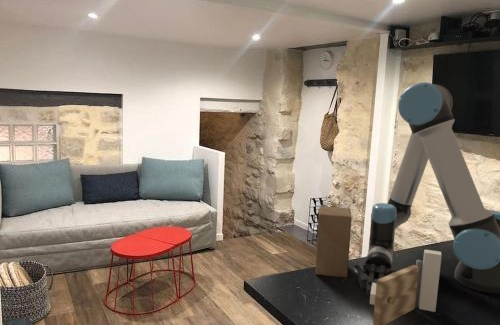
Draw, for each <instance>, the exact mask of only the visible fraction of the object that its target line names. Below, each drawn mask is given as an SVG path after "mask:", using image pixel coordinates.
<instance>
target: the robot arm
mask: <svg viewBox="0 0 500 325" xmlns="http://www.w3.org/2000/svg"><path fill="white" fill-rule="evenodd" d="M397 107H398V113H399V115H400V117H401V118H402V119H403V120H404V121H405V122H406V123H407V124H408V125H409V128H410V131H411V133H410V137H409V139H408V142H407V145H406V148H405V151H404V155H403V157H402V160H401V162H400V163H401V164H400V166H399V168H398V172H397V175H396V178H395V179H394V184H393V187H392V189H391V192H390V195H389V199H388V201H387V202H386V203H385V202H379V203H375V204H373V205H372V208H371V213H370V229H369V241H368V242H369V243H368V251H367V255H366V259H365V262H364V263H365V264H363V265H362V266H360V265H358V264H355V265H354V269H353V270H354V271H353V274H354V275H355V276H356V277H357V280H358V283H359V288H360V289H363V290H364V289H366V292H365V293H366V295H369V304H370V305H373V306H375V295H376V283H377V282H375V280H376V281H377V280H378V279H380V278H383V277H385V276H387V275H390V274H392V273H394V270H393V265H392V264H393V254H394V244H395V232H396V229H397V228H399V227H400V226H401V225H403V224H404V223H406V222H407V221H408V220H409V219H410V217H411V215H412V205H413V202H414V199H415V197H416V195H417V192H418V189H419V186H420V183H421V180H422V178H423V175H424V173H425V169H426V167H427V164H428V161H429V163H430V165H431V168H432V171H433V174H434V176H435V178H436V181H437V184H438V187H439V188H440V191H441V193H442V196H443V198H444V201H445V204H446V206H447V208H448V211H449V213H450V216H451V217H450V220H449V222H448V227H449V228H450V231H451V234H452V237H453V242H452V243H453V244H452V245H453V246H452V247H453V252H454V255H455V256H456V258H457V259H458V260H459V262H458V264H456V267H455V269H454V279H455V280H456V281H457V282H458V283H459V284H461V285H463V286H464V287H466V288H469V289H471V290H475V291H478V292H482V293H486V294H499V295H500V211H498V210H492V209H488V208H485V207H484V204H483V202H482V199H481V196H480V194H479V192H478V189H477V187H476V184H475V182H474V180H473V177H472V174H471V172H470V170H469V168H468V165H467V163H466V160H465V157H464V155H463V153H462V150H461V148H460V145H459V143H458V140H457V138H456V135H455V133H454V130H453V125H454V123H455V118H454V115H453V113H452V108H453V97H452V95H451V93H450V91H449V90H448V89H447V88H446V87H445V86H443V85H440V84H436V83H431V82H425V81H422V82H417V83H414V84H411V85H409V86H408V87H407V88H405V89H404V91H403V92H402V93H401V94H400V97H399V99H398V104H397ZM365 275H366V276H367V277H368V280H367V279H366V276H365Z"/></svg>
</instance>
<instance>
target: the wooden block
mask: <svg viewBox="0 0 500 325" xmlns="http://www.w3.org/2000/svg"><path fill="white" fill-rule="evenodd" d="M318 210H319V211H318V215H317V217H318V218H317V235H316V237H317V238H316V253H315V268H314V269H315V271H314V272H315V274H316V275H319V276H327V277H337V278H348V274H349V273H348V272H349V260H350V259H349V258H350V246H351V232H352V220H353V218H352V210H351V208H348V207H339V206H338V207H335V206H324V205H320V206H319V209H318Z"/></svg>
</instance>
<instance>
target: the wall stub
mask: <svg viewBox="0 0 500 325" xmlns="http://www.w3.org/2000/svg"><path fill="white" fill-rule="evenodd" d="M441 264H442V252H441V251H438V250H433V249H432V250H431V249H424V251H423V259H422V260H421V259H416V261H415V266H418V267H419V271H418V280H417V290H416V300H415V308H418V309H419V310H423V311H429V312H433V313H435V312H436V308H437V301H438V292H439V291H438V290H439V282H440V281H439V280H440V274H441Z"/></svg>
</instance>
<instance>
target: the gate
mask: <svg viewBox="0 0 500 325" xmlns="http://www.w3.org/2000/svg"><path fill="white" fill-rule="evenodd" d="M418 271H419V267H418V266H416V264H412V265H410V266H407V267H405V268H402V269H399V270H398V271H395V272H393V273H392V274H390V275H387V276H385V277H383V278H380V279H378V280H376V282H375V283H376V295H375V305H374V308H373V320H372V321H373V323H372V325H387V324H389V323H390V322H393V321H395V320H397V319H399V318H400V317H402V316H405V315H406V314H407V313H410V312H411V311H413V310H415V308H416V307H415V300H416V290H417V280H418Z"/></svg>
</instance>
